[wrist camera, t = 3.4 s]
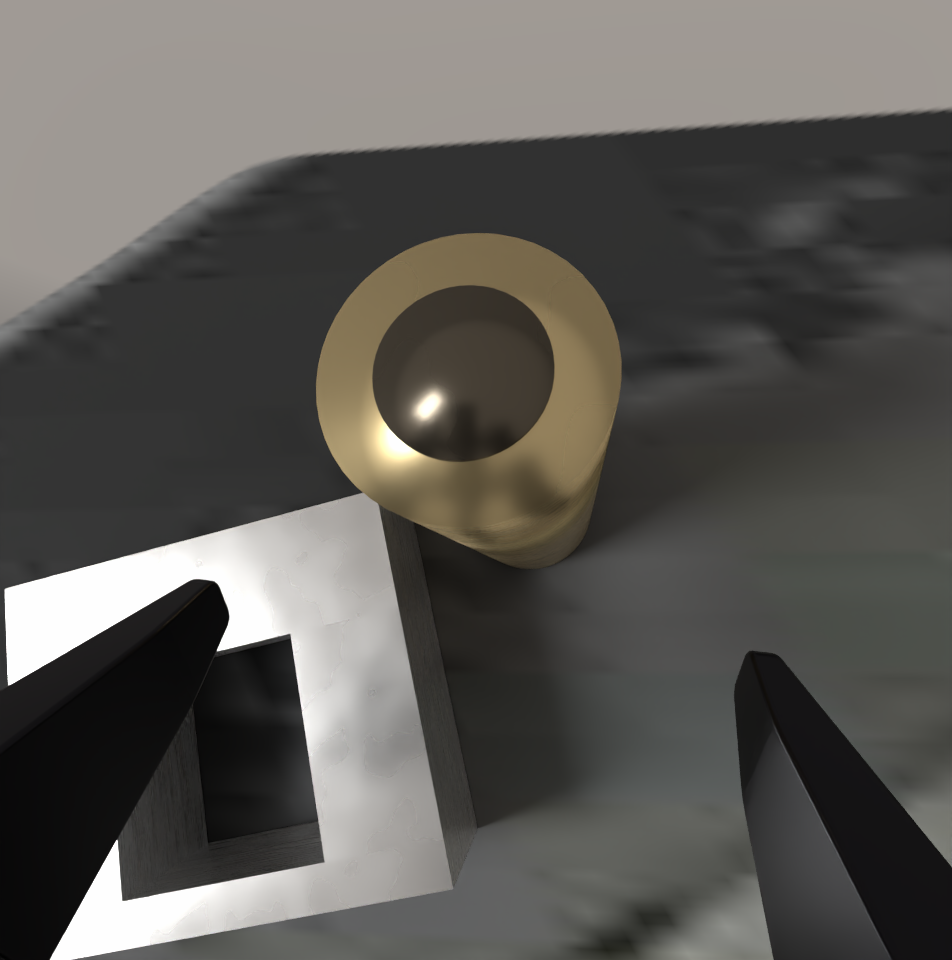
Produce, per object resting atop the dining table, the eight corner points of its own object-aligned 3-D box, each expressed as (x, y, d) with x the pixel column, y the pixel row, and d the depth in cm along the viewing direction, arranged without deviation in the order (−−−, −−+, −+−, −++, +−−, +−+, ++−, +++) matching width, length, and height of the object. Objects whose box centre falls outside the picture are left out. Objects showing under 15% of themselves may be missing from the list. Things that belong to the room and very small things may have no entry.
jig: (477, 829, 19) (453, 888, 15) (124, 897, 20) (19, 968, 17) (411, 508, 21) (375, 489, 18) (100, 589, 23) (4, 589, 19)
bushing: (615, 526, 20) (689, 409, 7) (509, 593, 20) (404, 589, 8) (547, 426, 21) (511, 174, 9) (447, 489, 21) (264, 335, 9)
